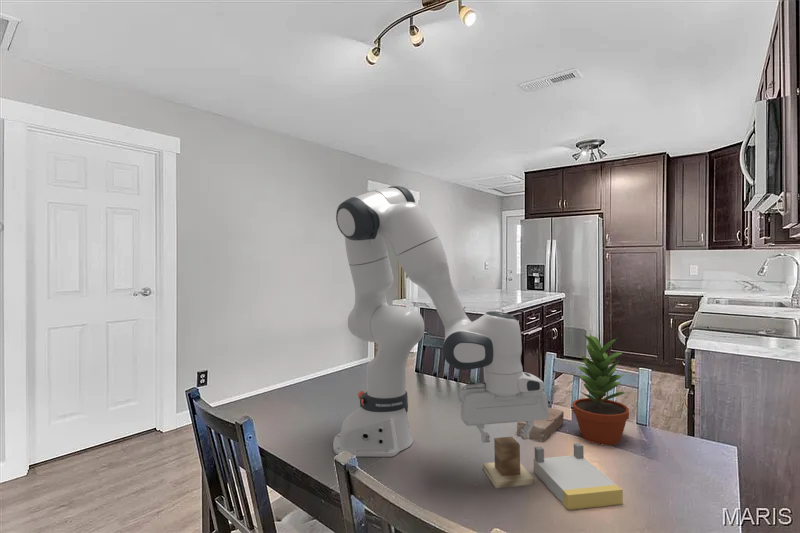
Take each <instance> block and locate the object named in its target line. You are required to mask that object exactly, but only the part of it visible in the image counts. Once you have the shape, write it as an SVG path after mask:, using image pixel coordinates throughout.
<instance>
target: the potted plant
mask: <svg viewBox="0 0 800 533" xmlns="http://www.w3.org/2000/svg"><path fill="white" fill-rule="evenodd" d="M582 334H583V336H584V337H585V339H586V340H587V341H588V342H587V345H585V347H586V350H587V352H588V354H589V357H590V358H591V359H589V358H587V357H585V356H584V355H580V354H579V353H577V355H578V356H580V358H582V359H583V364H584V365H585V366H586V367H585V366H579V365H577V364H575V367H577V369H578V370H580V371H581V372H583V374H585V375H581V374H580V373H578V375H579V379H580V380H582V382H584V383H583V386H584V388H585V389H586V390H587V392H588V393H589V394H587V393H584V392H582V391H580V393H581V394H583V395H584V396H586V398H585V397H583V398H579V399H576V400H574V401H573V402H572V412H573V414H575V417H576V422H577V426H578V429H579V432H580V435H581V438H582V439H583V440H586V441H587V442H589V441H590V443H592V442H593V443H592V444H595V443H597V444H596V445H601V444H603V445H602V446H615V445H618V444H620V443H621V441H622V437H623V434H624V430H625V427H626V425H627V424H626V423H627V421H628V420H629V419H630V408H629V407H628V406H627V405H625V404H623V403H622V402H619V401H616V400H611V399H613V398H616V397H618V396H619V397H620V396H622V395H625V394H628V393H629V391H627V392H625V391H619V392H615V393H613V394H610V395H608V396H607V394H606V393H608V392H610V391H611V390H613V389H615V388H617V387H618V386H620V385H621V382H622V380H621V381H617V380H619V379H620V378H622V377H623V376H624V375H625V373H624V374H621V375H620V374H614V373H615V371H617V368H616V367H617V365H618V364H619V362H620V361H621V360H622V358H620V359H618V360H616V358H618V357H619V356H621V355H622V354H623V353H624V351H622V352H614V353H612V354H609V355H608V353H606V352H607V350H608V349H610V347H611V346H612V345H613V344H614V343H615V342H616V339H618V338H619V337H617V338H616V339H612V340H610V341H609V342H607V343H606V344H604V345H603V346H602V344H601V341H600V340H599V338H598V337H597V336H593V335H592V334H591V333H589V336H588V335H586V334H584V333H583V332H582ZM613 362H614V363H613ZM610 365H611V366H610Z"/></svg>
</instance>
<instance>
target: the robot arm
mask: <svg viewBox="0 0 800 533" xmlns="http://www.w3.org/2000/svg"><path fill="white" fill-rule="evenodd" d="M335 215H336V216H335V219H336V226H337V228H338V230H339V231H340V233H341V234H342V235H343V237H344V244H345V245H344V246H345V251H346V257H347V262H348V266H349V270H350V273H351V278H352V281H353V286H354V305H353V308H352V309H351V311H350V313H349V315H348V317H347V327H348V330H349V331H350V334H351V335H353V336H355V337H356V338H358V339H359V340H362V341H364V342H368V343H369V342H370V343H376V344H377V352H376V354H375V357H374V358H373V359H371V360H370V361H369V362H368V363H367V365H366V369H365V370H366V392H365V391H363V390H360V391H359V392H357V396H358V397H357V398H358V400H359V407H358V408H357V409H355V410H354V411H353V412H351V413H350V414H349V415H347V416H346V418H344V420H343V422H342V426H341V429H340V432H339V433H338V434H336V436H334V439H333V442H332V443H333V444H332V449H333V452H334V453H335V455H337V454H339V453H341V452H343V451H348V452H350V453H351V454H353V455H356V456H355V457H370V458H371V457H373V458H374V457H376V458H377V457H384V458H385V457H387V458H388V457H395V456H396V455H397V454H399V452H401V451H403V450H405V449H407V448H409V447H411V446H412V444H413V442H414V439H413V436H412V433H411V429H410V424H409V417H408V411H409V395H408V392H407V391H408V390H406V389H407V385H406V383H407V382H406V381H407V379H406V377H407V376H406V374H407V362H408V358H409V355H410V353H411V351H412V349H413V348H414V347H415V346H416V345H417V344H419V342H421V339H422V338H423V336H424V334H425V332H424V331H425V321H424V318H423V316H422V314H421V313H420V312H418V311H416V310H414V309H412V308H409V307H406V306H403V305H390V304H388V302H387V293H388V291H389V290H390V289H391V287H392V286H393V284H394V280H395V277H394V274H393V269H392V265H391V261H390V257H389V253H388V249H387V245H386V240H385V238H386V239H387V240H388V241H389V242H390V244H391V247H392V249H393V252H394V254H395V256H396V259H397V261H398V263H399V265H400V267H401V268H402V270H403V272H404V273H405V275H406V276H407V278H408V279H409V280H410V281H411V282H412V283H414V284H415V285H417V286H418V287H420V288H421V289H422V290H423V291H424V292H425V293H426V294H427V295H428V296H429V297H430V299H431V301H432V304H433V305H434V308H435V310H436V311H437V314H438V315H439V318H440V320H441V321H442V325H443V328H444V341H443V345H442V353H443V354H442V355H443V357H444V359H445V361H446V362H447V364H448V365H449V366H451V367H452V368H453V369H456V370H459V371H469V370H476V369H482V368H483V382H477V383H467V384H465V385H463V386H462V387H461V388H460V390H459V400H460V402H461V404H460V418H461V421H462V422H463V423H464V425H465V426H467V427H468V426H470V427H471V426H476V428H477V429H478V431H479V433H480V434H481V441H482V444H486V443H490V442H491V439H490V438H491V437H490V433H489V432H487V431H486V432H485V431H484V429H485V425H495V424H497V425H498V424H507V423H517V422H523V421H525V422H526V425H525V427H524V429H522V430H520V432H521V436H520V438H521V439H522V440H530V439H529V432H530V431H531V429H532V427H533V425H534V421H535V420H546V419H547V417H548V416H549V408H550V407H549V401H548V396H547V393H546V392H545V391H544V389H545V383H544V381H543V380H541V378H540V377H538V376H536V375H534V374H532V373H529V372H524V371H523V365H522V362H521V356H522V351H523V346H522V345H523V344H522V332H521V325H520V324H519V320H517V318H516V317H515V316H513V315H511V314H510V313H507V312H503V311H502V312H501V311H496V310H495V311H486V312H485V313H484V314H483V315H482V316H480V317H478V318H477V319H475V320H473V319H472V318H470V317H469V316H468V315H467V313H466V311H465V310H464V308H463V305H462V303H461V301H460V299H459V297H458V294H457V293H456V290H455V289H454V285H453V283H452V279H451V276H450V269H449V263H448V258H447V255H446V251H445V250H444V246H443V243H442V241H441V239H440V237H439V235H438V233H437V231H436V228H435V227H434V225H433V223H432V222H431V220H430V219H429V216H428V215H427V214H426V212H425V210H424V209H423V208H422V207H421V206H420V205H419V204H418V203H417V202H416V200H415V197H414V195H413V193H412V192H411V191H410V190H409V189H408V188H406V187H405V186H400V185H398V186H397V185H392V186H391V185H390V186H388V187H384V188H377V189H372V190H370V191H368V192H365V193H362V194H360V195H356V196H355V197H354V196H352V197H350V198H347V199H345V200H344V201H343V202H341V203H340V204H339V205H338V207H337V209H336V214H335Z"/></svg>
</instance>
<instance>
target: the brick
mask: <svg viewBox="0 0 800 533" xmlns="http://www.w3.org/2000/svg"><path fill="white" fill-rule="evenodd" d="M564 415H565V412H564V411H563V410H561V409H558V408H554V407H549V416H548V417H547V419H546V420H535V421H534V425H533V427H532V429H531V431H530V432H529V439H528V440H531V441H536V442H538V443H544V442H545V441H547V440H548V438H549V437H551V436H552V434H554V433H555V432H557V430H558V429H560V428H561V426H562V425H563V424H564ZM516 423H517V424H516V429H517V430H516V435H517V436H519V437H521V432H520V430H522V429H524V427H525V425H526V422H525V421H523V422H516Z"/></svg>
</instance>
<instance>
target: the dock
mask: <svg viewBox="0 0 800 533" xmlns="http://www.w3.org/2000/svg"><path fill="white" fill-rule="evenodd" d="M584 454H585V452H584V445H583V444H582V443H581V442H576V443H575V442H574V443H573V455H563V456H552V457H545V450H544V447H543V446H534V458H533V472H534V473H535V475H536V476H537V477H538V479H540V480H541V481H542V482H543V484H545V486H546V487H547V488H548V489H549V490H550V492H552V493H553V495H554V496H555V497H556V498H557V499H558V500H559V501H560V502H561V504H562V505H563V506H564V507H565V508H566V509H567V511H568V510H578V509H579V510H580V509H588V508H599V507H607V506H608V507H609V506H617V505H623V504H624V501H623V500H624V499H623V495H624V494H623V490H624V489H622V488H621V487H620V486H619V485H618V484H616V483H615V482H614V481H613V480H612V479H610V478H609V477H608V476H607V475H605V474H604V473H603V472H602V471H601V470H600V469H598V468H597V467H596V466H595V465H593V464H592V463H591V462H590V461H589V460H587V459H586V458H585V457H584Z"/></svg>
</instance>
